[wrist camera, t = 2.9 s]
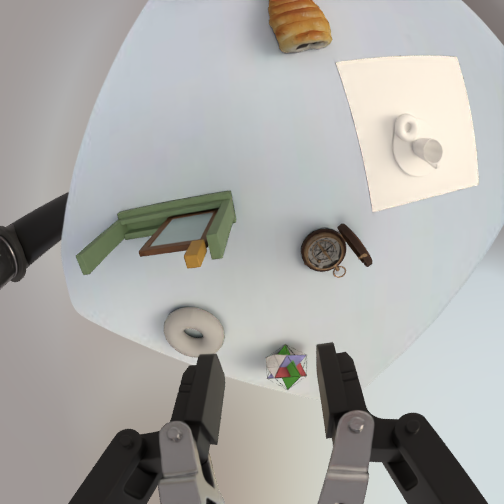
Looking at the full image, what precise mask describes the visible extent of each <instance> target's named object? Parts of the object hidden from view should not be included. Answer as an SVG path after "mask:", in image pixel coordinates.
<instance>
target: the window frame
mask: <svg viewBox="0 0 504 504" xmlns="http://www.w3.org/2000/svg"><path fill="white" fill-rule="evenodd" d="M218 208H219V209H218ZM212 209H218V212H217V214H216V216H215V218H214V220H213V222H212V224H211V226H210V228H209V230H208V232H207V235H206V237H207V241H208V246H209V250H210V254H211V258H212V259H220V258H223V254H224V251H225V247H226V244H227V240H228V237H229V233H230V230H231V226H232V223H236V216H235V211H234V206H233V200H232V195H231V191H224V192H218V193H212V194H206V195H200V196H194V197H189V198H183V199H178V200H173V201H168V202H163V203H158V204H153V205H148V206H143V207H139V208H134V209H130V210H125V211H121V212H119V213H118V214H117V215H118V219H119V220H117V221H116V222H115V223H114V224H112V225H111V226H110V227H109V228H108V229H106V230H105V231H104V232H103V233H101V234H100V235H99V236H98V237H97V238H96V239H94V240H93V241H92V242H91V243H90V244H89V245H87V246H86V247H85V248H84V249H83V250H82V251H81V252H79V253H78V254H77V255H76V258H77V261H78V263H79V266H80V268H81V270H82V273H83V275H88V274H90V273H91V272H92V271H93V270H94V269H95V268H96V267H97V266H98V265H99V264H100V263H101V262H102V261H103V260H104V258H105V257H106V256H107V255H108V254H109V253H110V252H111V251H112V250H113V249H114V248H115V247H116V246H117V245H118V244H119V243H120V242H121V241H122V240H123V239H124V238H125V240H129V239H134V238H140V237H146V236H152V235H153V234H154V233H155V232H156V231H157V230H158V228H159V227H160V226H161V225H162V224H163V223H164V222H165V221H166V219H167V218H168V217H170V216H176V215H182V214H188V213H194V212H200V211H206V210H212Z"/></svg>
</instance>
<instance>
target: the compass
mask: <svg viewBox="0 0 504 504" xmlns="http://www.w3.org/2000/svg"><path fill="white" fill-rule="evenodd" d="M337 228H338V230H339V232H340V233H341V235H340V234H339V233H338V232H336V231H334V230H332V229H319V230H316V231H313V232H312V233H311V234H309V235H308V236H307V237H306V239H305V240H304V242H303V244H302V247H301V254H302V259H303V261H304V264H305V265H307V266H308V267H309V268H310V269H313V270H315V271H320V272H323V271H329V270H332V269H334V268H335V269H334V271H335V270H336V271H339V270H340V269H339V267H342V268H344V267H343V266H338V265H339V264H340V263H341V262H342V261H343V259H344V257H345V254H346V243H345V242H347V244H348V245H349V246H350V248H351V249H352V250H353V252H354V253H355V254H356V255H357V257H358V258H359V259H360V260H361V261H362V263H364V265H365V266H366V267H369V266H370V265H371V264H372V259H371V257H370V255H369V253H368V251H367V250H366V248H365V247H364V245H363V244H362V242H361V241H360V240H359V238H358V237H357V236H356V235H355V234H354V233H353V231H352V230H351V229H350V228H348V227H347V226H346V225H345V224H340V225H339V226H338V227H337ZM344 269H345V268H344ZM334 271H333V274H334ZM345 273H346V269H345ZM345 273H344V274H343V275H342V276H339V277H338V276H336V275H335V274H334V276H335V277H338V278H340V277H343V276H344V275H345Z"/></svg>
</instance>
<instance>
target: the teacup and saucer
mask: <svg viewBox="0 0 504 504" xmlns="http://www.w3.org/2000/svg"><path fill="white" fill-rule="evenodd" d="M394 131H395V133H394V136H393V141H392V151H393V155H394V159H395V161H396V163H397V165H398V166H399V167H400V169H401V170H402V171H403V172H404V173H406V174H407V175H409V176H411V177H415V178H422V177H426V176H428V175H430V174H431V173H432V172H433V171H434V170H438V169H439V168H440V167H441V165H440V161H441V160H442V158H443V155H444V149H443V146H442V142H441V138H440V135H439V133H438V131H437V130H436V128H435V127H434V126H433V125H432V124H431V123H430V122H429V121H427V120H425V119H423V118H420V117H415V116H414V115H413V114H411V113H402V114H400V115H399V116H398V117H397V118H396V120H395V122H394ZM412 141H413V143H412V146H411V147H412V151H413V153H414V154H412V153H411V151H410V150H411V149H410V148H411V147H410V143H411V142H412Z"/></svg>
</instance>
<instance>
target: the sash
mask: <svg viewBox="0 0 504 504" xmlns="http://www.w3.org/2000/svg"><path fill="white" fill-rule="evenodd" d="M218 209H219V208H218ZM218 209H212V210H206V211H200V212H194V213H188V214H182V215H176V216H170V217H168V218H167V219H166V221H165V222H164V223H163V224H162V225H161V226H160V227H159V228H158V230H157V231H156V232H155V233H154V234H153V235H152V236H151V238H150V239H149V240H148V241H147V242H146V243H145V245H144V246H143V247H142V248H141V249H140V250H139V255H140V257H142V256H149V255H156V254H163V253H171V252H178V251H186V250H187V251H186V253H185V255H184V259H185V262H186V266H187V268H196V267H201V264H202V262H203V259H204V257H205V254H206V252H207V249H206V248H207V247H208V241H207V237H206V235H207V232H208V230H209V228H210V226H211V224H212V222H213V220H214V218H215V216H216V214H217V212H218Z"/></svg>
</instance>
